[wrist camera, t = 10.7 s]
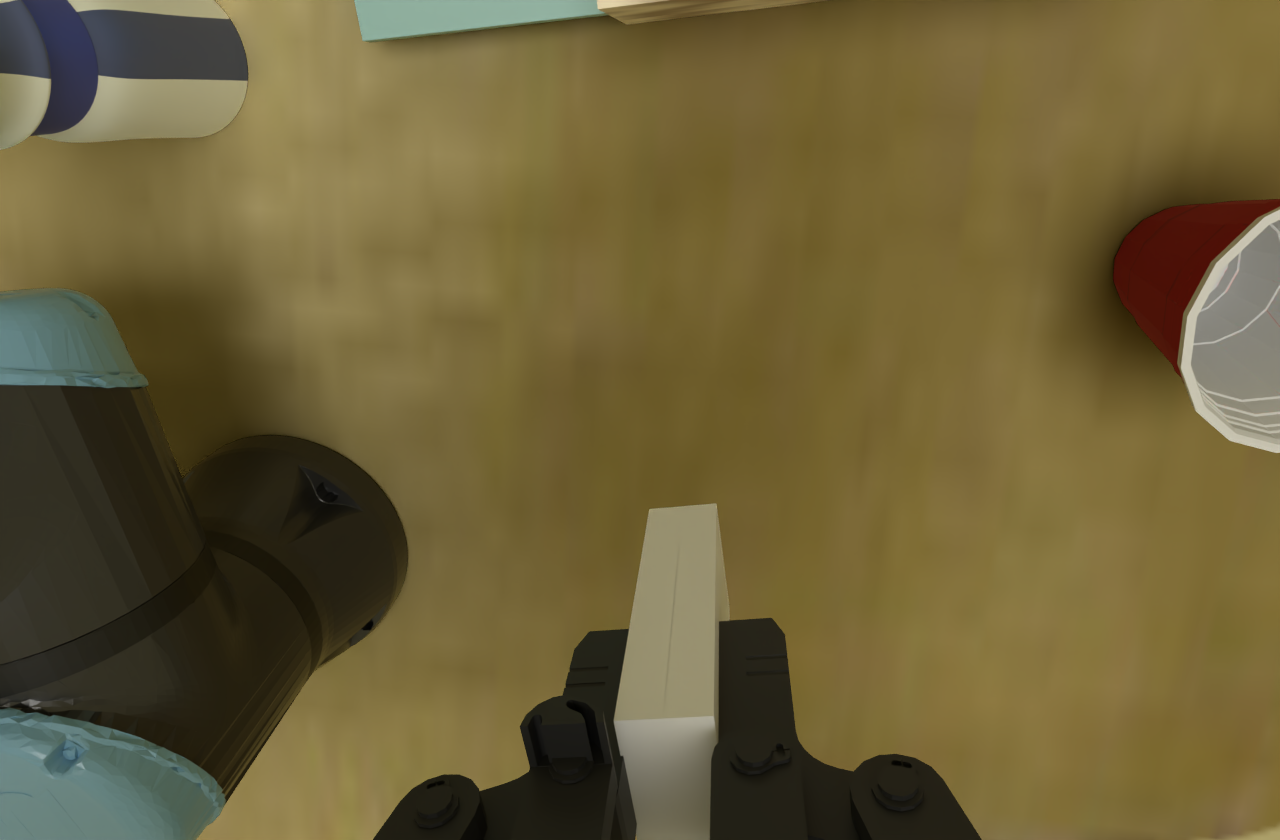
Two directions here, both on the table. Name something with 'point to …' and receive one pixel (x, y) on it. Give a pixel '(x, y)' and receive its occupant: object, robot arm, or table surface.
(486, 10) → the teal flat panel
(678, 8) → the crate
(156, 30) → the blue-banded white tube
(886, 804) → the robot arm
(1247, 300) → the plastic cup
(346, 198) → the table surface
